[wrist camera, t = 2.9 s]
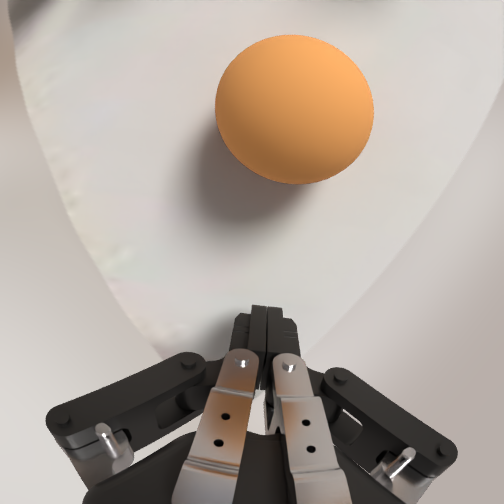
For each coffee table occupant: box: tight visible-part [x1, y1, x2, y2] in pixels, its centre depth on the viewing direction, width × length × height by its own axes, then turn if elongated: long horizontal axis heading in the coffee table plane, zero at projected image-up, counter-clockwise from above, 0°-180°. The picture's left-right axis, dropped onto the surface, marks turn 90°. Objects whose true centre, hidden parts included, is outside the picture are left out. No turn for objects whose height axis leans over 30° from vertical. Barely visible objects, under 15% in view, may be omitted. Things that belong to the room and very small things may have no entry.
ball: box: [215, 35, 374, 184], centre depth 10 cm, size 6×6×6 cm
